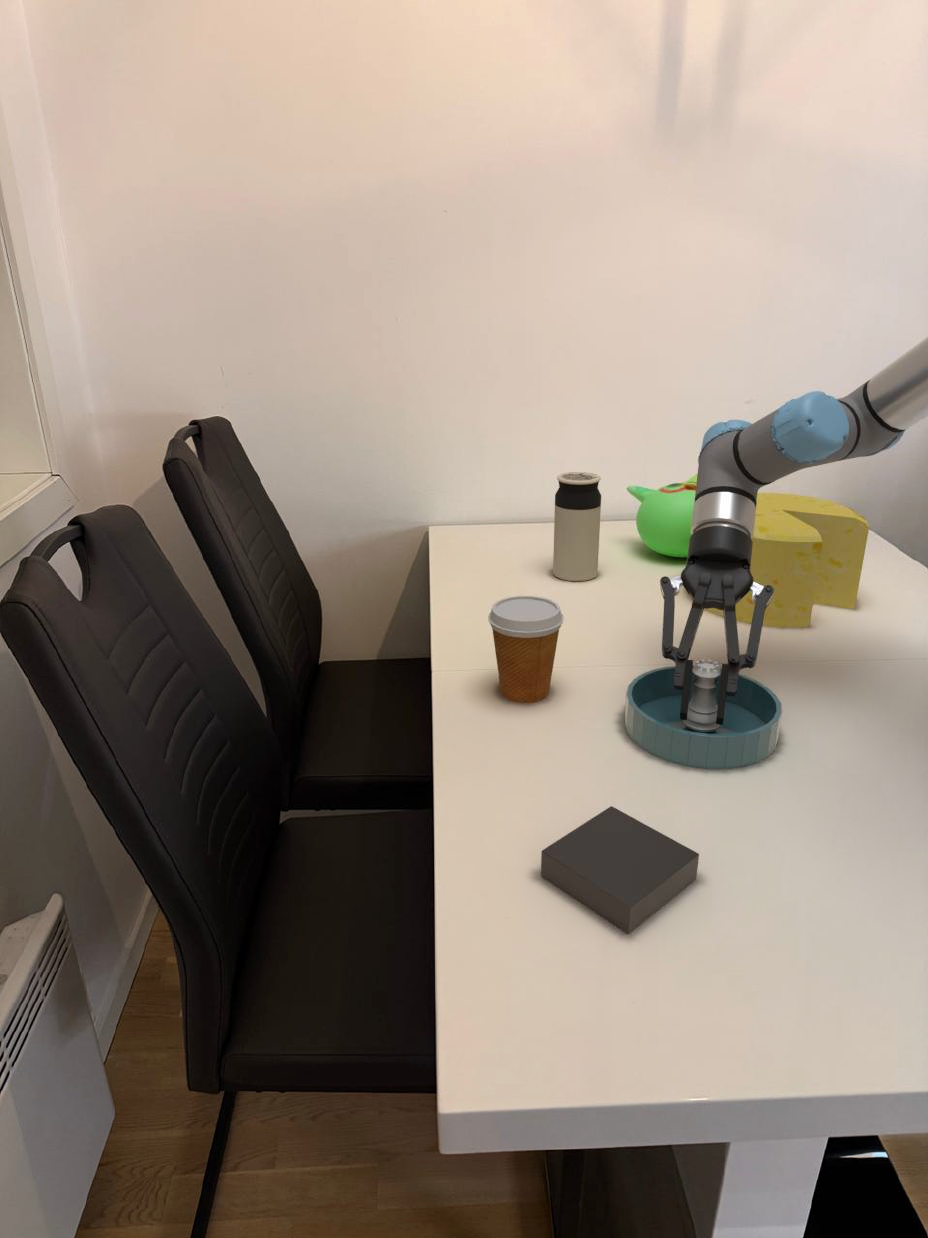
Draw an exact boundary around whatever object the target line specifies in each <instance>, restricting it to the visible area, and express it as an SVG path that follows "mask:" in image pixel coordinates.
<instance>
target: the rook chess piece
mask: <svg viewBox="0 0 928 1238" xmlns="http://www.w3.org/2000/svg"><path fill="white" fill-rule="evenodd" d="M705 661H706V660H705V659H699V660H697V661H696V662H695V665H694V666H695V667H694V668H693V669H692V671H693V673H694V675H695V676H696V678H695V679H694V681H693V683H694V692H693V695H692V699H691V701H690V702H689V705H688V713H687V720H683V722H684V723H685V725H686V726H687V727H688V728H690V729H692V730H694V731H698V732H711V731H714V730H716V729H717V728H718V727H719V726H720V725H718V724H716V718H717V708H718V705H717V704H716V695H715V691H716V687H717V685H718V683H717V681H716V679H717V678H718V677H719V676H720V674H721V671H720V669H721V668H719V667H720V666H719V663H718V662H717V661H713V659H707V662H705Z"/></svg>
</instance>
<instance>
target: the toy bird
mask: <svg viewBox="0 0 928 1238" xmlns="http://www.w3.org/2000/svg"><path fill="white" fill-rule="evenodd" d="M697 475H698V473H696V474H694V475H693V476H691V477H689V478H688V479H687V480H686V481H684V482H675V483H671V484H667V485H664V486H661V487H659V488H657V489H653V488H648V487H643V486H639V485H638V486H637V485H627V487H626V491H627V492H628V493H629V494H630V495H631V496H633V497H634V498H635V499H637V500H638V501H639V502H640V505H639V507H638V509H637V513H636V519H635V521H636V522H635V523H636V524H635V525H636V529H637V532H638V535H639V537H640V539H641V540H642V541H643V543H644V544H645V545H646V546H647V547H648V548H649V549H650V550H652V551H654V552H655V553H658V554H660V555H663V556H667V557H671V558H681V559H683V558H686V559H687V556H688V548H689V540H690V537H691V523H692V515H693V507H694V503H695V492H696V483H697Z"/></svg>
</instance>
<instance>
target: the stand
mask: <svg viewBox="0 0 928 1238" xmlns="http://www.w3.org/2000/svg"><path fill="white" fill-rule="evenodd" d="M540 852H541V853H540V854H541V855H540V856H541V857H540V877H541V878H543V879H544V880H545V881H547V882H549V883H550V884H552V885H553V886H554V887H556V888H558V889H559V890H561V891H562V892H563V893H565V894H567V895H568V896H570V897H571V898H573V899H574V900H576V901H577V902H578V903H580V904H581V905H583V906H585V907H586V908H587V909H589V910H590V911H592V912H593V913H595V914H596V915H598V916H600V917H601V918H602V919H604V920H606V921H607V922H608V923H610V924H611V925H613V926H615V928H617V929H619V930H620V931H622V932H623V933H625V934H626V935H630V934H631V933H632V932H634V931H635V930H636V929H637V928H638V927H640V926H641V925H642V924H643V923H645V922H646V921H647V920H648V919H650V918H651V917H652V916H654V915H655V914H656V913H657V912H658V911H659V910H661V909H662V908H663V907H665V906H666V905H667V904H668V903H669V902H671V901H672V900H673V899H675V897H677V896H678V895H679V894H681V893H682V892H683V891H685V889H687V888H688V887H690V886H691V885H692V884H693V883H694V882H696V881H697V878H698V869H699V859H700V854H699V853H698V852H696V851H694V850H693V849H691V848H690V847H688V846H685V845H683V844H682V843H680V842H678V841H676V840H675V839H674V838H671V837H669V836H668V835H666V834H664V833H662V832H660V831H658V830H656V829H654V828H653V827H651V826H649V825H647V824H645V823H644V822H641V820H640V821H639V820H638V819H636V818H634V817H632V816H630V815H629V814H627V813H625V812H623V811H621V810H620V809H618V808H616V807H614V806H613V805H611V806H609V807H607V808H606V809H604V810H603V811H601V812H600V813H598V814H597V815H595V816H593V817H592V818H590V819H589V820H587V821H586V822H584V823H582V824H581V825H579V826H577V827H576V828H575V829H573V830H572V831H570V832H568V833H567V834H565V835H564V836H562V837H561V838H559V839H557V840H556V841H554V842H553V843H551V844H550V845H548V846H547V847H545V848H543V849H542V850H541V851H540Z"/></svg>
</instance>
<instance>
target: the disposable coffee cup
mask: <svg viewBox="0 0 928 1238" xmlns="http://www.w3.org/2000/svg"><path fill="white" fill-rule="evenodd" d="M490 610H491V611H490V612H489V614H488V615H487V619H488V623H489V625H490V627H491V629H492V635H493V645H494V651H495V657H496V658H495V659H496V665H497V672H498V680H499V687H500V694H501V696H502V697H503V698H504V699H506V700H508V701H510V702H514V703H518V704H534V703H538V702H540V701H543V700H545V699H546V698H547V697H548V696H549V695H550V694H549V693H550V690H551V689H550V688H551V681H552V676H553V669H554V663H555V657H556V651H557V645H558V638H559V634H560V629H561V627H562V624H563V622H564V619H565V618H564V615H563V613H562V612H561V607H560V605H559V604H558V603H557V602H556V601H554V600H552V599H549V598H545V597H542V596H535V595H515V596H509V597H505V598H502V599H500V600H497V601H495V603H494V604H492V607H491V609H490Z"/></svg>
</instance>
